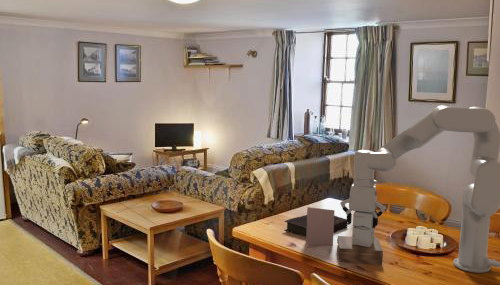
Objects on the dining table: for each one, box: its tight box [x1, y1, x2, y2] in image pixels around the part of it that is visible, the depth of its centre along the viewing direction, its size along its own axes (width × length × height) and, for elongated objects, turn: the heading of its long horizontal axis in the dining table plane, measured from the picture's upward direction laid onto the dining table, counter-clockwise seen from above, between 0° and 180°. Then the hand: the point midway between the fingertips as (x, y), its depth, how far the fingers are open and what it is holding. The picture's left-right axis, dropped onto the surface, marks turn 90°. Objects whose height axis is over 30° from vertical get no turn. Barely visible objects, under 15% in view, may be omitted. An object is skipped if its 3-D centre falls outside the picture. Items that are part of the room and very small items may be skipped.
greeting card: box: [305, 207, 335, 248], centre depth 197 cm, size 11×7×15 cm, turn 70°
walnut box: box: [336, 235, 384, 266], centre depth 187 cm, size 16×14×6 cm
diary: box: [283, 214, 349, 237], centre depth 219 cm, size 19×25×5 cm
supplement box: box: [351, 211, 376, 247], centre depth 185 cm, size 7×7×13 cm
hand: (361, 225), depth 185 cm, fingers open, 9 cm apart
